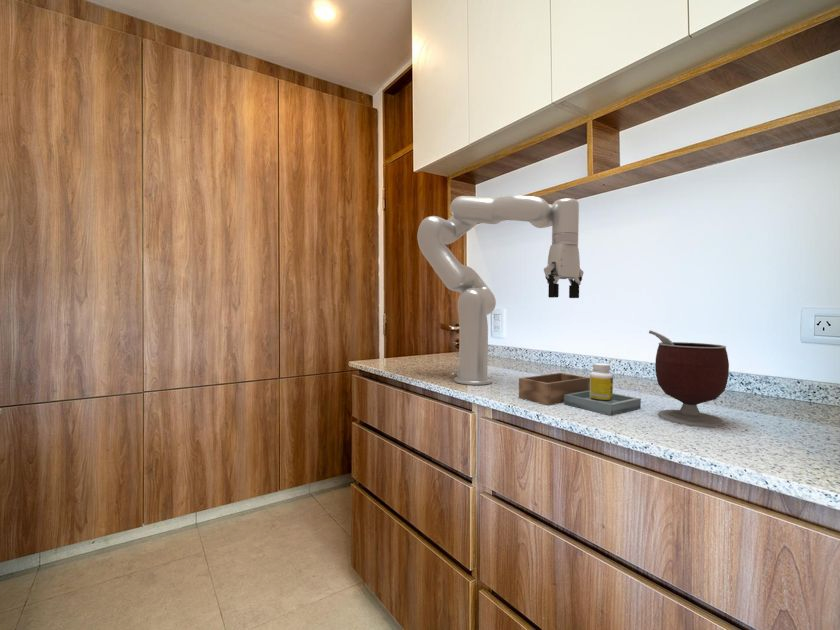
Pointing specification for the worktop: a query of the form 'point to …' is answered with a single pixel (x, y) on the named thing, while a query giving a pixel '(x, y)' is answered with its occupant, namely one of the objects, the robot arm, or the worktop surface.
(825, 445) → the worktop surface
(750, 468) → the worktop surface
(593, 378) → the supplement bottle
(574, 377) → the holder
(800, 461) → the worktop surface
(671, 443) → the worktop surface
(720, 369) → the mate gourd
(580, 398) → the tray
